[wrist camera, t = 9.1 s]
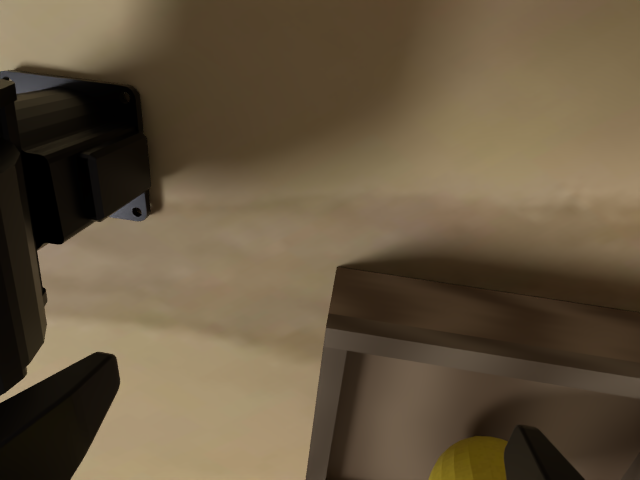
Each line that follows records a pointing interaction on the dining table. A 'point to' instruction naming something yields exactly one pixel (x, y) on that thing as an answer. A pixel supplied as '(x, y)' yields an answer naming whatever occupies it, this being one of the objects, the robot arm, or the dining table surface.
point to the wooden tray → (470, 378)
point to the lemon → (472, 460)
